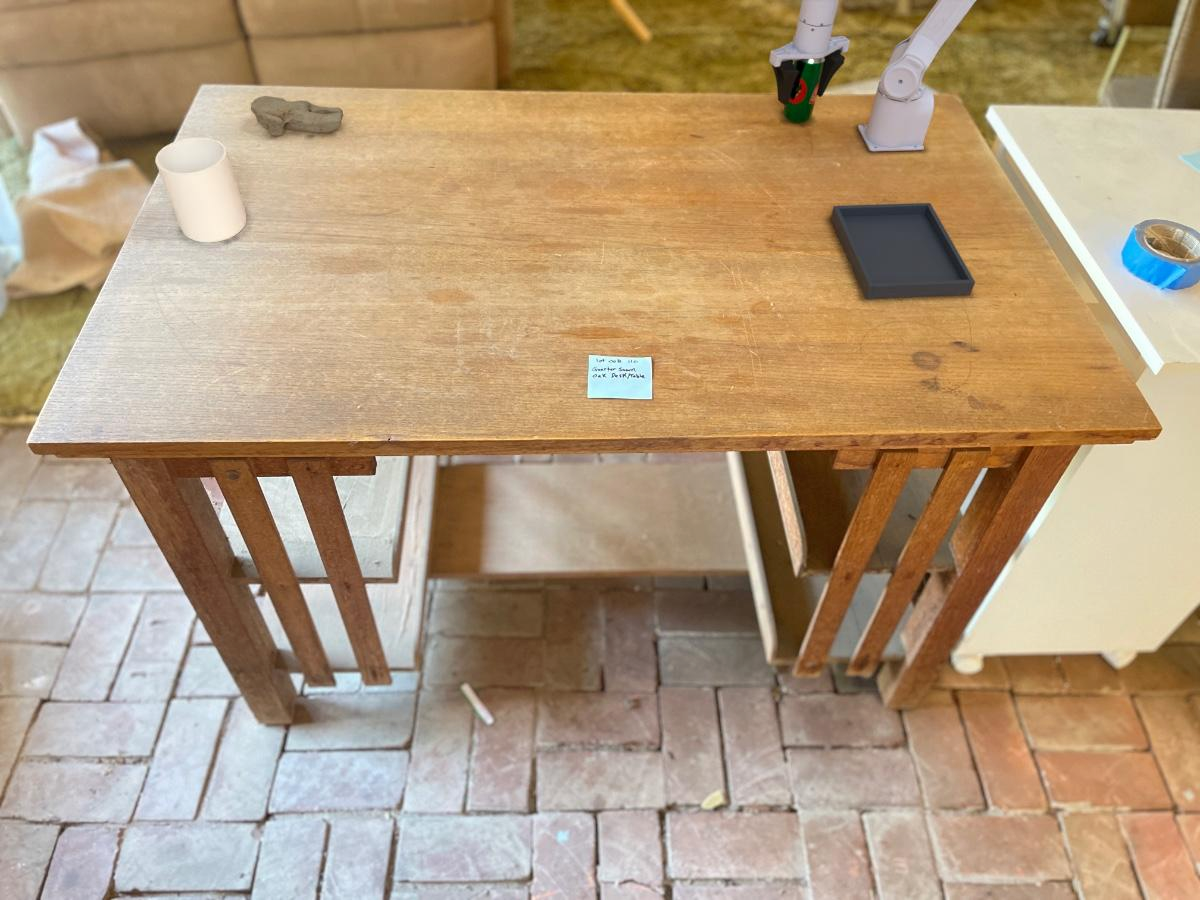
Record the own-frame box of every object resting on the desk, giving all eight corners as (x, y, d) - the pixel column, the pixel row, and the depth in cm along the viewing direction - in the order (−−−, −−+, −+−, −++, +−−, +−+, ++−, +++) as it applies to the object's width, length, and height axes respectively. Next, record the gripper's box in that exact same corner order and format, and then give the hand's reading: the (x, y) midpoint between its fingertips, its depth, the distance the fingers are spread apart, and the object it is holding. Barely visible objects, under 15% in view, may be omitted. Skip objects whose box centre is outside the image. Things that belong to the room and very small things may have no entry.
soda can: (810, 126, 160) (828, 59, 151) (781, 123, 160) (797, 55, 151) (810, 112, 163) (826, 45, 154) (781, 109, 164) (796, 42, 155)
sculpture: (349, 121, 158) (260, 112, 157) (346, 96, 154) (255, 86, 153) (342, 145, 154) (250, 136, 153) (339, 120, 150) (245, 111, 149)
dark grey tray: (925, 215, 144) (930, 202, 142) (970, 295, 131) (975, 282, 129) (830, 218, 142) (833, 205, 140) (865, 299, 130) (869, 286, 128)
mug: (176, 246, 133) (149, 175, 124) (190, 199, 141) (165, 129, 132) (244, 243, 134) (221, 172, 125) (253, 196, 142) (233, 126, 133)
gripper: (838, 1, 153) (821, 79, 163) (765, 15, 149) (752, 95, 159) (864, 19, 149) (844, 98, 159) (789, 34, 145) (774, 114, 155)
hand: (800, 98), depth 159 cm, fingers open, 7 cm apart
